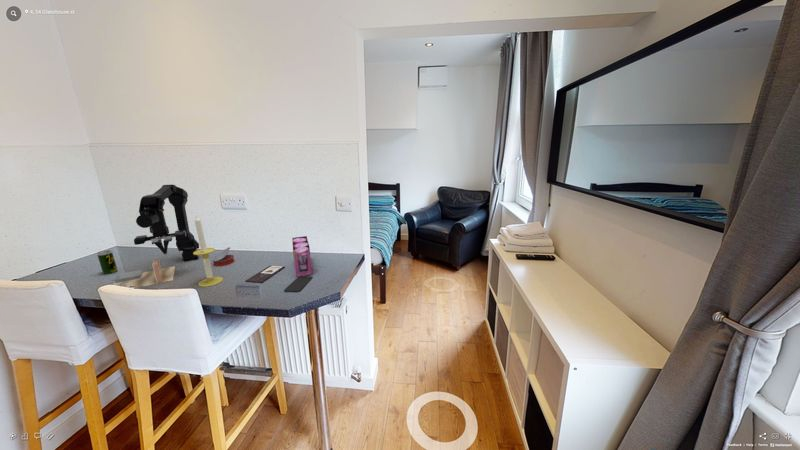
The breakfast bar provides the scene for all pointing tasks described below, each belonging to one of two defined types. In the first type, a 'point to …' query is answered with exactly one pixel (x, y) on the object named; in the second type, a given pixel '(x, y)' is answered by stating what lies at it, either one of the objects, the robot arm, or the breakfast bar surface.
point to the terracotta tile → (157, 270)
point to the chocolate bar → (265, 274)
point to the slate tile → (128, 276)
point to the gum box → (302, 256)
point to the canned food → (223, 258)
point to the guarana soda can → (107, 262)
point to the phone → (298, 284)
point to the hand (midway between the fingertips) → (165, 254)
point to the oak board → (149, 278)
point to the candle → (205, 258)
